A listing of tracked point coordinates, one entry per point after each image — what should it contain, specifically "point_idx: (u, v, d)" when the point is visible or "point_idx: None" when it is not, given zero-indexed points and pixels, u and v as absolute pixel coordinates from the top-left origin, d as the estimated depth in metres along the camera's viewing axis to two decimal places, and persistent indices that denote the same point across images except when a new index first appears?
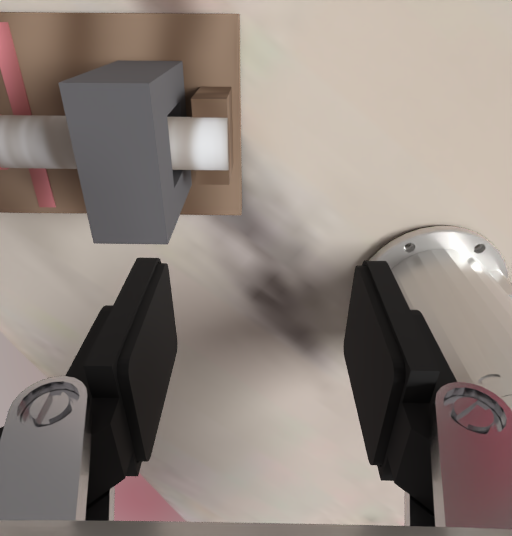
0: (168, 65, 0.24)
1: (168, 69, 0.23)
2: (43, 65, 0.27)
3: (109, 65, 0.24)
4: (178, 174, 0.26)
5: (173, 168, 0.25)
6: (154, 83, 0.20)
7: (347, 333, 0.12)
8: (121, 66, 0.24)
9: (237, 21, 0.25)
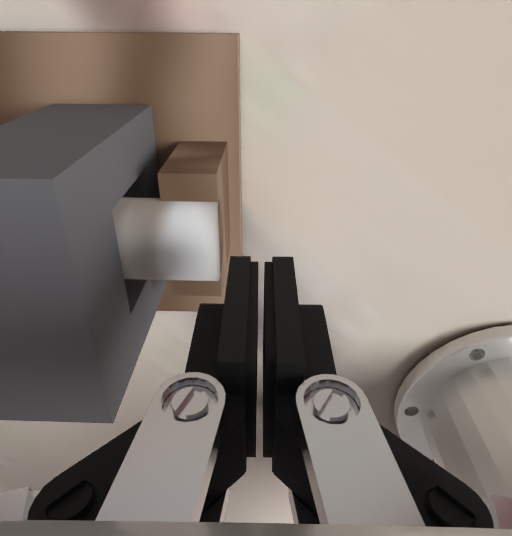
0: (123, 117, 0.15)
1: (117, 128, 0.13)
2: None
3: (28, 117, 0.15)
4: (143, 280, 0.17)
5: (131, 278, 0.16)
6: (72, 171, 0.10)
7: (263, 329, 0.12)
8: (45, 119, 0.15)
9: (235, 45, 0.16)
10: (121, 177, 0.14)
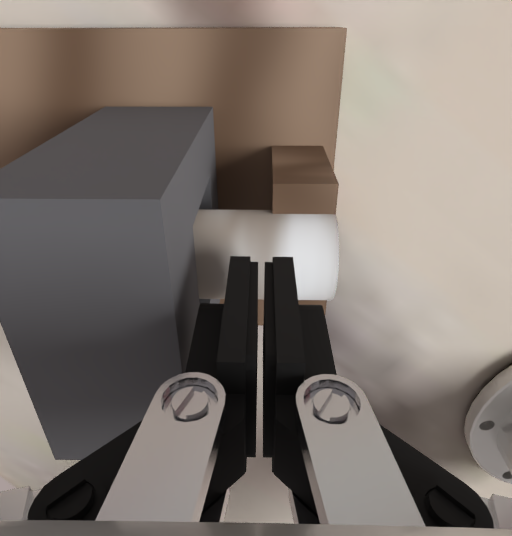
0: (192, 121, 0.14)
1: (194, 135, 0.12)
2: (15, 114, 0.16)
3: (87, 122, 0.14)
4: None
5: None
6: (171, 187, 0.09)
7: (263, 328, 0.12)
8: (108, 125, 0.13)
9: (343, 40, 0.15)
10: (197, 189, 0.12)
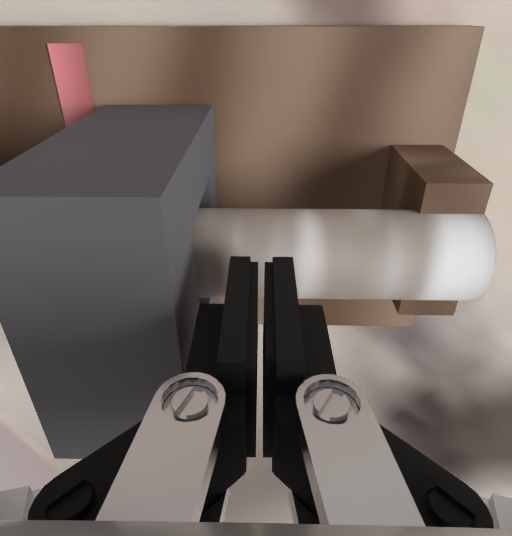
0: (191, 119, 0.14)
1: (194, 133, 0.12)
2: None
3: (87, 120, 0.14)
4: None
5: (376, 299, 0.14)
6: (171, 185, 0.09)
7: (263, 329, 0.12)
8: (107, 123, 0.13)
9: (479, 39, 0.15)
10: (197, 187, 0.12)
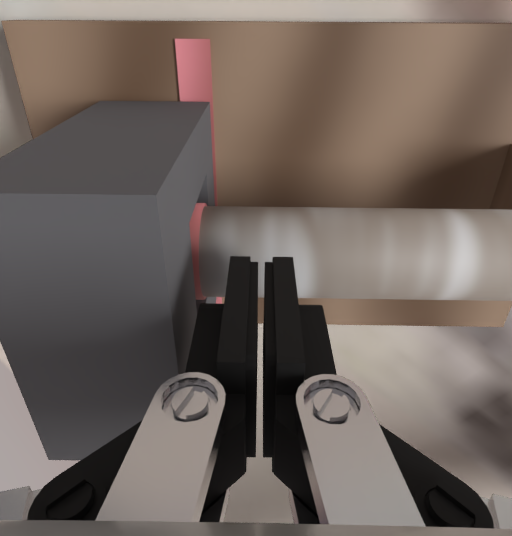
0: (188, 116, 0.13)
1: (191, 130, 0.12)
2: (254, 110, 0.16)
3: (81, 116, 0.13)
4: None
5: None
6: (167, 183, 0.09)
7: (263, 329, 0.12)
8: (103, 119, 0.13)
9: None
10: (194, 185, 0.12)
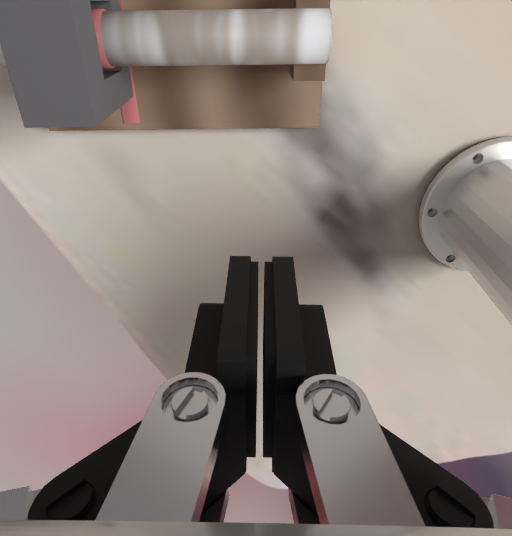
0: None
1: None
2: None
3: None
4: (112, 74, 0.27)
5: (276, 60, 0.26)
6: None
7: (263, 329, 0.12)
8: None
9: None
10: None
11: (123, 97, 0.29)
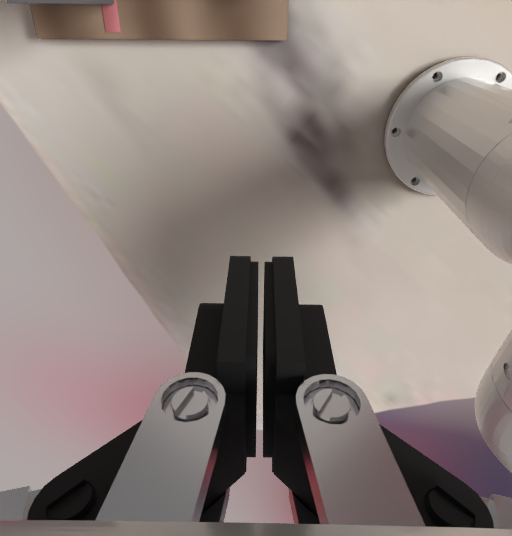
0: None
1: None
2: None
3: None
4: None
5: None
6: None
7: (263, 329, 0.12)
8: None
9: None
10: None
11: None
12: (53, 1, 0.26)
